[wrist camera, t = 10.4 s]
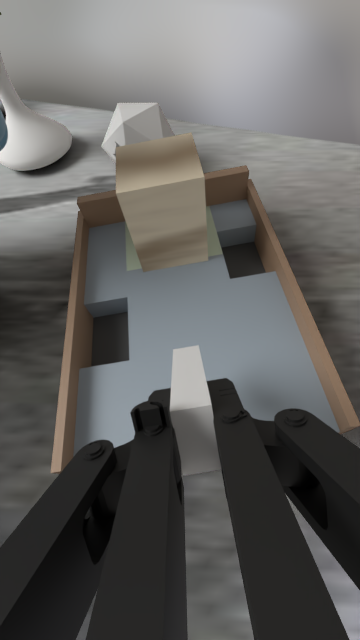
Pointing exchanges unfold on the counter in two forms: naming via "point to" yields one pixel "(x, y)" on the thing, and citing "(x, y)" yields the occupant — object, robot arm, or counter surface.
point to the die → (135, 126)
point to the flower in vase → (29, 132)
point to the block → (163, 201)
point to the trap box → (188, 322)
